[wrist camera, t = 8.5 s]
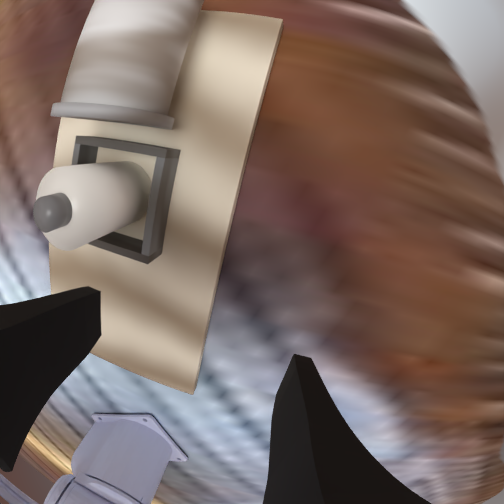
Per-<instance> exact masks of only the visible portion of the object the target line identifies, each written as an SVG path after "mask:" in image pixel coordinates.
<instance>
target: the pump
mask: <svg viewBox="0 0 504 504" xmlns="http://www.w3.org/2000/svg"><path fill="white" fill-rule="evenodd" d="M150 189H151V182H150V179H149V177H148V175H147V173H146V172H145V170H144V169H143V168H142V167H141V166H139V165H138V164H136V163H134V162H131V161H117V162H103V163H91V164H80V165H71V166H62V167H56V168H53V169H51V170H50V171H49V172H48V173H47V174H46V175H45V176H44V177H43V179H42V181H41V183H40V185H39V188H38V191H37V197H36V202H35V204H34V208H33V216H34V220H35V223H36V225H37V227H38V228H39V229H40V230H41V231H42V232H43V234H44V235H45V237H46V238H47V239H48V241H49V242H50V243H51V244H52V245H54V246H55V247H56V248H58V249H61V250H64V251H71V250H74V249H77V248H79V247H81V246H83V245H85V244H87V243H89V242H91V241H94V240H96V239H98V238H100V237H102V236H104V235H107V234H109V233H111V232H113V231H116V230H118V229H120V228H122V227H125V226H127V225H129V224H131V223H134V222H136V221H138V220H140V219H141V218H142V217H143V216H144V215H145V214H146V213H147V208H148V201H149V195H150Z"/></svg>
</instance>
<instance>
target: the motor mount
mask: <svg viewBox="0 0 504 504" xmlns="http://www.w3.org/2000/svg"><path fill="white" fill-rule="evenodd" d="M203 2H204V0H95V2H94V4H93V6H92V8H91V11H90V13H89V15H88V18H87V20H86V23H85V25H84V28H83V30H82V33H81V36H80V38H79V41H78V44H77V47H76V50H75V53H74V56H73V59H72V62H71V65H70V69H69V72H68V75H67V79H66V83H65V86H64V90H63V94H62V98H61V103H54V104H53V106H52V111H51V116H56V117H61V122H60V127H59V133H58V139H57V145H56V151H55V159H54V166H53V168H56V167H62V166H71V165H80V164H91V163H103V162H117V161H131V162H134V163H136V164H138V165H139V166H141V167H142V168H143V169H144V170H145V172H146V173H147V175H148V177H149V179H150V182H151V189H150V195H149V201H148V208H147V213H146V214H145V215H144V216H143V217H142V218H141V219H140V220H138V221H136V222H134V223H131V224H129V225H127V226H125V227H122V228H120V229H118V230H116V231H113V232H111V233H109V234H107V235H104V236H102V237H100V238H98V239H96V240H94V241H91V242H89V243H87V244H85V245H83V246H81V247H79V248H77V249H74V250H71V251H64V250H61V249H58V248H56V247H55V246H54V245H52V244H51V243H50V242H49V264H50V283H51V295H52V294H56V293H60V292H63V291H67V290H71V289H75V288H80V287H86V286H89V287H92V288H94V289H96V290H99V291H101V333H102V335H101V337H100V338H99V340H98V341H97V343H96V344H95V346H94V347H93V348H92V350H91V351H90V353H92V354H94V355H96V356H98V357H100V358H102V359H104V360H106V361H108V362H111V363H113V364H115V365H117V366H119V367H122V368H124V369H126V370H128V371H131V372H133V373H136V374H138V375H140V376H143V377H145V378H148V379H150V380H153V381H155V382H158V383H161V384H163V385H166V386H169V387H171V388H174V389H177V390H180V391H183V392H185V393H188V394H191V395H193V393H194V391H195V389H196V386H197V381H198V376H199V371H200V366H201V361H202V356H203V351H204V346H205V341H206V336H207V332H208V327H209V322H210V317H211V313H212V308H213V303H214V299H215V294H216V290H217V285H218V281H219V276H220V272H221V267H222V263H223V258H224V254H225V250H226V245H227V241H228V237H229V233H230V228H231V224H232V220H233V216H234V211H235V207H236V203H237V199H238V195H239V191H240V187H241V183H242V178H243V174H244V170H245V166H246V162H247V158H248V155H249V151H250V147H251V143H252V139H253V135H254V131H255V127H256V123H257V120H258V116H259V112H260V108H261V105H262V101H263V97H264V93H265V90H266V86H267V82H268V79H269V75H270V71H271V68H272V64H273V61H274V57H275V54H276V50H277V47H278V43H279V40H280V36H281V33H282V29H283V19H278V18H272V17H265V16H259V15H251V14H243V13H233V12H221V11H204V10H201V7H202V5H203Z"/></svg>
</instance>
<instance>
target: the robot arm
mask: <svg viewBox="0 0 504 504" xmlns="http://www.w3.org/2000/svg"><path fill="white" fill-rule="evenodd" d="M101 335H102V333H101V291H99V290H96V289H94V288H92V287H89V286H86V287H80V288H75V289H71V290H67V291H63V292H60V293H56V294H52V295H48V296H44V297H40V298H36V299H32V300H27V301H23V302H18V303H13V304H7V305H0V468H1V469H2V470H3V471H5V472H10V471H12V470H13V467H14V464H15V462H16V459H17V456H18V454H19V451H20V449H21V447H22V444H23V442H24V440H25V438H26V436H27V434H28V432H29V430H30V428H31V427H32V425H33V423H34V421H35V420H36V418H37V416H38V415H39V413H40V411H41V410H42V408H43V407H44V405H45V404H46V402H47V401H48V399H49V398H50V396H51V395H52V394H53V393H54V391H55V390H56V389H57V388H58V387H59V386H60V385H61V383H62V382H63V381H64V380H65V379H66V378H67V377H68V376H69V375H70V374H71V373H72V372H73V370H74V369H75V368H76V367H77V366H78V365H79V364H80V363H81V362H82V361H83V360H84V358H85V357H86V356H87V355H88V354H89V353H90V351H91V350H92V348H93V347H94V346H95V344H96V343H97V341H98V340H99V338H100V337H101ZM92 418H93V420H94V421H95V423H94V425H93V426H92V427H91V429H90V430H89V432H88V433H87V435H86V436H85V437H84V439H83V440H82V442H81V443H80V445H79V446H78V448H77V449H76V450H75V452H74V454H73V456H72V461H71V468H72V472H73V475H74V476H73V475H72V474H69V475H63V476H61V477H60V478H59V479H58V480H57V481H56V483H55V484H54V486H53V487H52V488H51V490H50V492H49V494H48V495H47V498H46V500H45V502H44V504H151V502H152V500H153V497H154V495H155V493H156V490H157V488H158V486H159V483H160V481H161V479H162V476H163V474H164V471H165V469H166V467H167V464H168V462H169V461H183V462H185V461H187V460H188V457H187V456H186V455H185V454H184V453H183V452H182V451H181V450H180V448H179V447H178V446H177V445H176V444H175V443H174V442H173V440H172V439H171V438H170V437H169V436H168V434H167V433H166V432H165V431H164V430H163V428H162V427H161V426H160V425H159V423H158V422H157V421H156V420H155V418H154V417H153V416H151V415H116V414H92ZM0 495H1V496H2V497H3V498H4V499H5V500H6V501H7V502H9V503H10V504H38V503H37V502H35V501H34V500H32V499H31V498H30V497H28V496H27V495H26V494H24V493H23V492H22V491H21V490H19V489H18V488H17V487H15V486H14V485H13V484H12V483H11V482H9V481H8V480H7V479H6V478H5V477H4V476H3V475H1V474H0ZM0 504H1V503H0ZM263 504H431V503H430V502H428V501H426V500H425V499H423V498H422V497H420V496H419V495H417V494H416V493H414V492H413V491H411V490H410V489H409V488H407V487H406V486H405V485H403V484H402V483H401V482H400V481H399V480H397V479H396V478H395V477H394V476H393V475H392V474H390V473H389V472H388V471H387V470H386V469H385V468H384V467H383V466H382V465H381V464H380V463H379V462H378V461H377V460H376V459H375V458H374V457H373V456H372V455H371V454H370V452H369V451H368V450H367V449H366V448H365V447H364V445H363V444H362V443H361V442H360V440H359V439H358V438H357V437H356V435H355V434H354V433H353V431H352V430H351V429H350V427H349V426H348V424H347V423H346V421H345V420H344V418H343V417H342V415H341V414H340V412H339V410H338V409H337V407H336V405H335V404H334V402H333V400H332V398H331V396H330V394H329V393H328V391H327V389H326V387H325V385H324V383H323V381H322V379H321V377H320V375H319V373H318V371H317V369H316V367H315V365H314V363H313V361H312V359H311V358H309V357H305V356H301V355H297V354H294V355H293V357H292V359H291V362H290V364H289V366H288V369H287V371H286V373H285V376H284V378H283V380H282V382H281V385H280V387H279V389H278V391H277V394H276V398H275V403H274V409H273V414H272V422H271V439H270V456H269V471H268V480H267V485H266V490H265V495H264V500H263Z"/></svg>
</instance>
